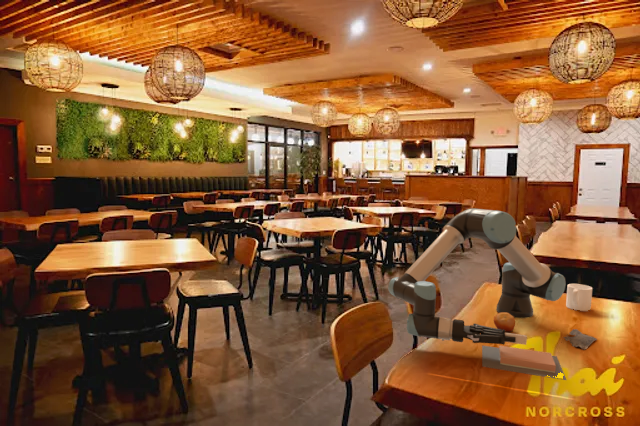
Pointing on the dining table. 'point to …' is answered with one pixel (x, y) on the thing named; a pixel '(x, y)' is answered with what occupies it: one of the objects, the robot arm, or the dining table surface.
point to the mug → (579, 297)
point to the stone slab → (580, 339)
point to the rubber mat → (493, 361)
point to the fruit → (504, 321)
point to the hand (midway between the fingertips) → (526, 340)
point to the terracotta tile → (526, 359)
